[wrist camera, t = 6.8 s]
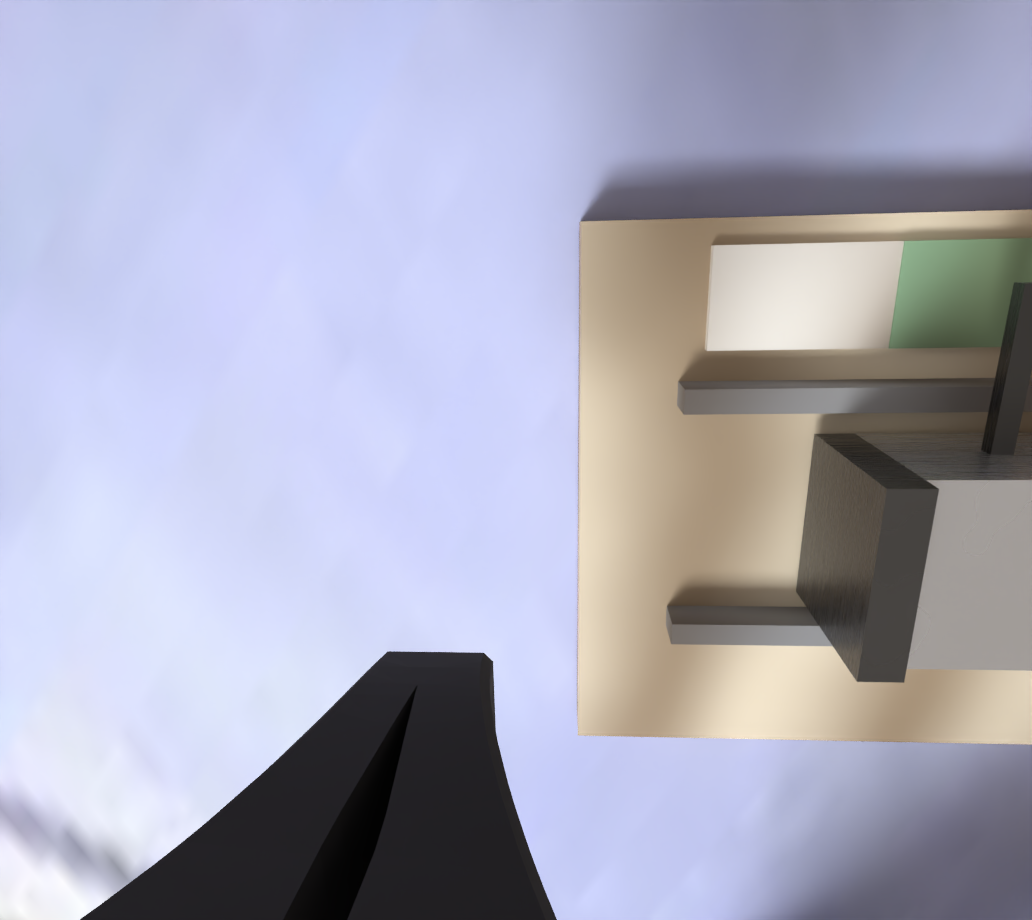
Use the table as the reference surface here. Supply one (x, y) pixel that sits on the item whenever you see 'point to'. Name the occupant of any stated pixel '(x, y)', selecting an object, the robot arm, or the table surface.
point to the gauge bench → (767, 459)
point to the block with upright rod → (927, 536)
